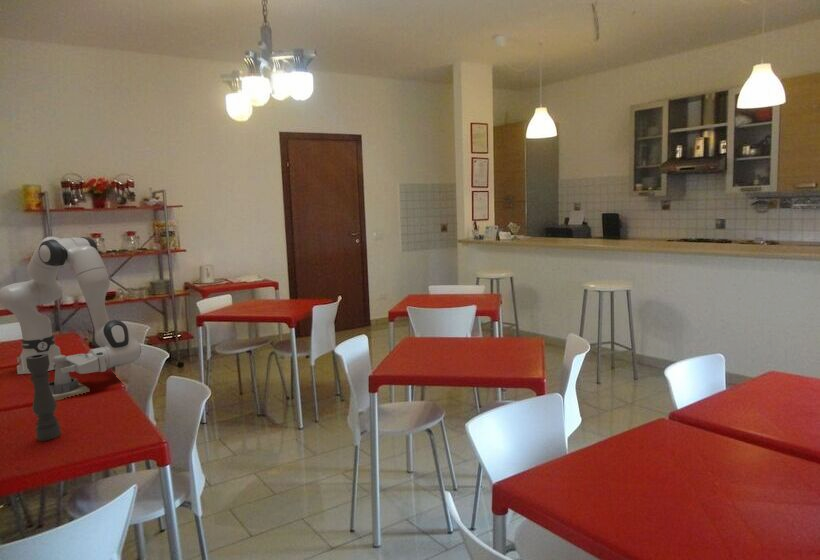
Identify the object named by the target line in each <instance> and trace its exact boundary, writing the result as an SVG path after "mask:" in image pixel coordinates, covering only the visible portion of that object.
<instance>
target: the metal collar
mask: <svg viewBox="0 0 820 560" xmlns="http://www.w3.org/2000/svg"><path fill="white" fill-rule="evenodd" d="M71 380H72V382H70V383H67V384H63V385H56V386H55V385H54V381H55V380H52V381H49V388H50V391H51V393H52V394H62V393H67V392H71V391H73V390H76V389H77V388H78V387H79V386H78V382H79V380H78V378H76V377H71Z"/></svg>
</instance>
